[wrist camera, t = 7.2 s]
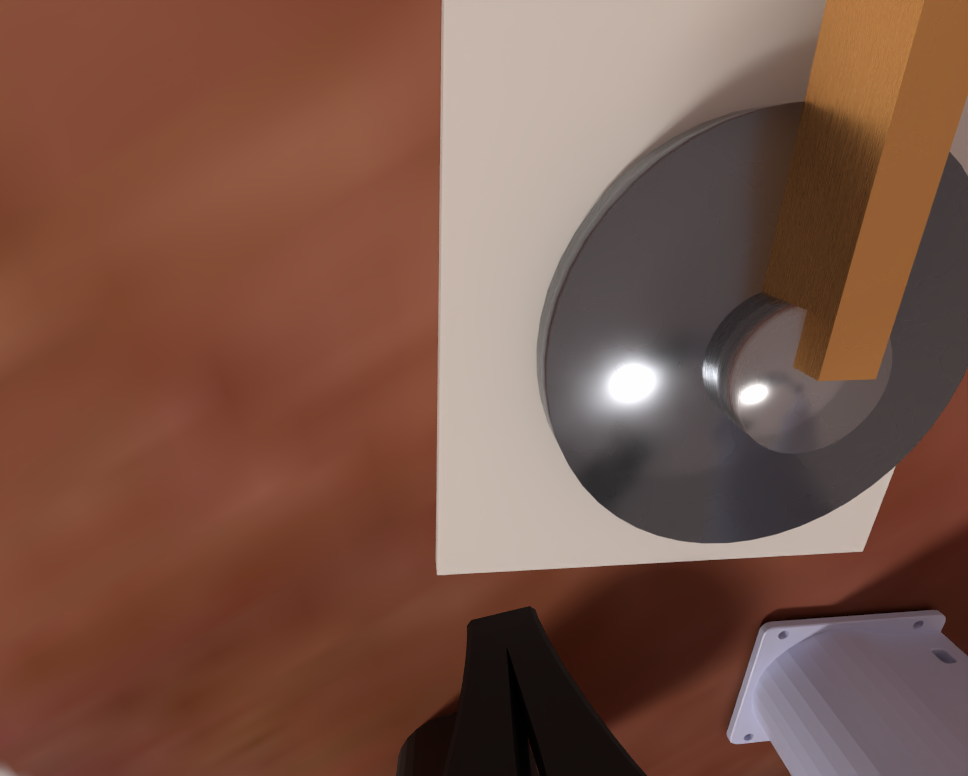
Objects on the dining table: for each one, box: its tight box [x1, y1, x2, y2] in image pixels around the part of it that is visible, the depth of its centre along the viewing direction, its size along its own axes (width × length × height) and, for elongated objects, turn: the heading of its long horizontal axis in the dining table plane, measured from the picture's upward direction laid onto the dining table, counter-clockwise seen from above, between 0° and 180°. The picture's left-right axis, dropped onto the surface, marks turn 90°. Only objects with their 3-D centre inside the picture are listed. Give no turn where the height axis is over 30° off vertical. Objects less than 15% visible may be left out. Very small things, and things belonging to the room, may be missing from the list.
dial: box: [537, 0, 968, 544], centre depth 16 cm, size 18×14×4 cm
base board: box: [436, 0, 968, 575], centre depth 17 cm, size 18×20×6 cm
